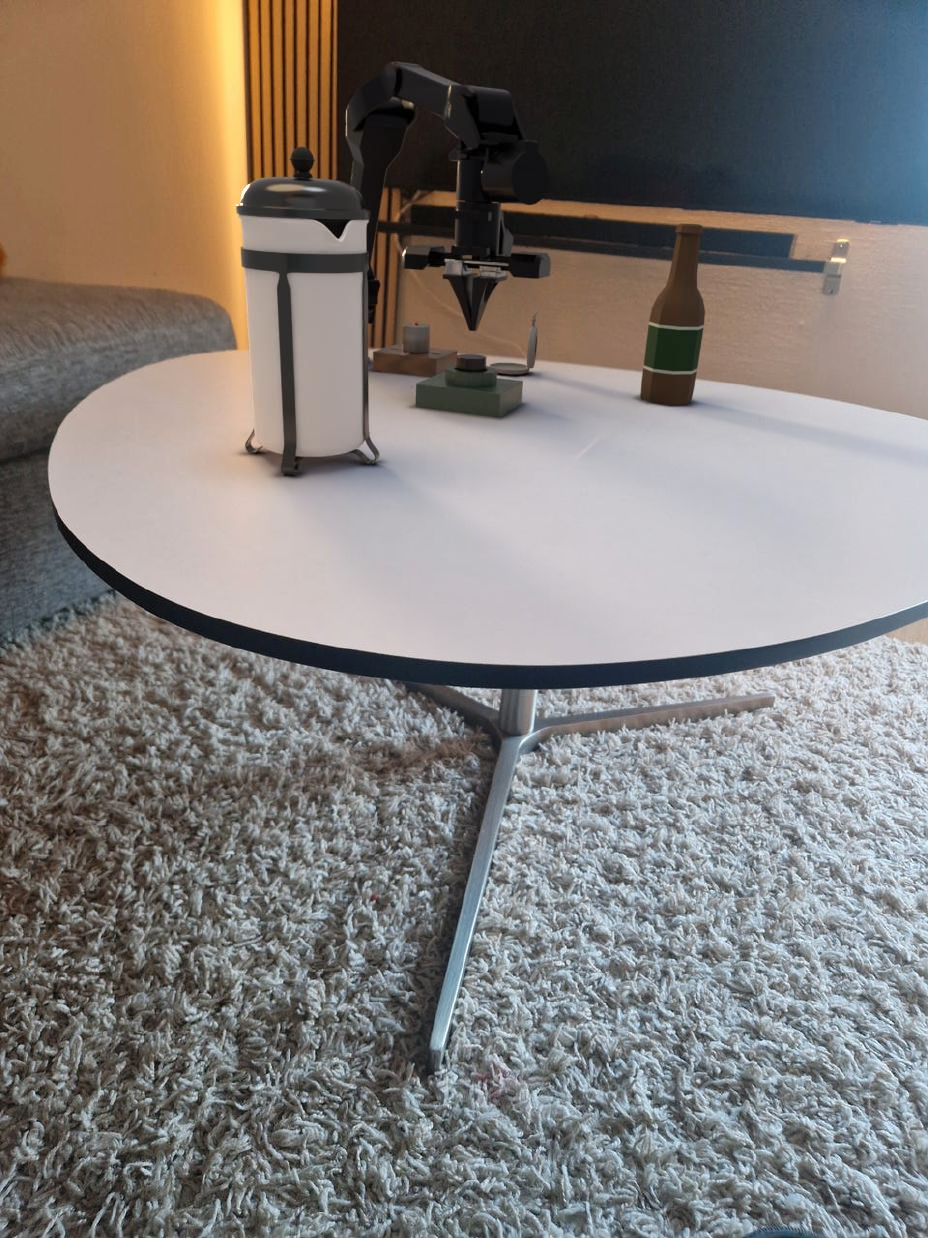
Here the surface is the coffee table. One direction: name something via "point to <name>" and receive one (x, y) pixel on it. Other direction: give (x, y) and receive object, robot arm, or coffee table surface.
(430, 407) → the button base
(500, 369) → the pocket watch
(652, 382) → the beer bottle
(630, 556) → the coffee table surface
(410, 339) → the dial
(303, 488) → the coffee table surface
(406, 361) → the dial panel
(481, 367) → the push button
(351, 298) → the coffee press
